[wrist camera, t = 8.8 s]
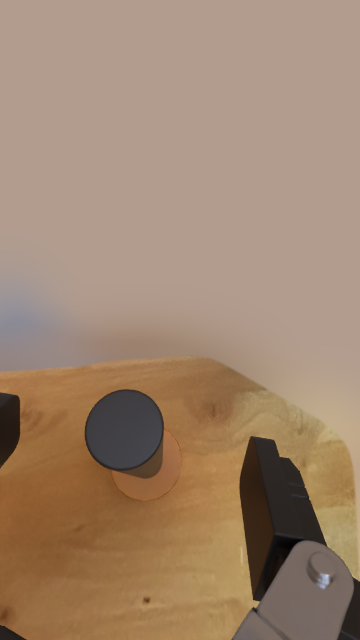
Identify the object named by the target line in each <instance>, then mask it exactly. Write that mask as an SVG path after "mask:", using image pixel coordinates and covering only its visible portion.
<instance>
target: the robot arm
mask: <svg viewBox="0 0 360 640" xmlns="http://www.w3.org/2000/svg"><path fill="white" fill-rule="evenodd" d="M19 438H20V399H19V397H18V396H17V395H11V394H6V393H0V468H1V467H2V465H3V464H4V463H5V462H6V461H7V459H8V458H9V457H10V456H11V454H12V453H13V452H14V450H15V448H16V446H17V444H18V441H19ZM240 499H241V507H242V515H243V523H244V531H245V539H246V547H247V555H248V563H249V571H250V579H251V587H252V595H253V600H255V601H261V602H260V603H259V605H258V606H257V608H256V609H255V608H254V607H253V608H252V609H251V610H250V611H249V613H248V614H247V615H246V617H245V619H244V620H243V622H242V623H241V625H240V627H239V628H238V630H237V631H236V633H235V635H234V636H233V638H232V640H360V582H359V581H358V580H356V579H355V578H353V577H352V575H351V573H350V571H349V569H348V567H347V566H346V564H345V563H344V562H343V560H342V559H341V558H340V557H339V556H338V555H337V554H336V553H335V552H334V551H332V550H331V549H329V548H328V547H327V545H326V542H325V539H324V536H323V534H322V531H321V528H320V526H319V523H318V520H317V517H316V515H315V512H314V509H313V506H312V504H311V501H310V500H309V496H308V493H307V490H306V488H305V485H304V482H303V479H302V477H301V474H300V471H299V470H298V469H297V468H296V466H295V465H294V464H293V463H292V462H291V460H290V459H289V458H283V457H280V456H279V453H278V450H277V446H276V443H275V441H274V440H271V439H266V438H260V437H254V436H251V437H250V440H249V443H248V447H247V451H246V455H245V459H244V462H243V466H242V470H241V475H240ZM0 640H26V639H24V638H23V637H21V636H20V635H18V634H16V633H15V632H13V631H11V630H10V629H8V628H6V627H5V626H1V625H0Z"/></svg>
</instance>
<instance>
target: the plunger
mask: <svg viewBox="0 0 360 640" xmlns="http://www.w3.org/2000/svg"><path fill="white" fill-rule="evenodd" d="M85 441H86V445H87V448H88V450H89V452H90V454H91V455H92V457H93V458H94V459H95V460H96V461H97V462H98V463H99V464H100V465H102V466H103V467H105V468H107V469H110V470H111V474H112V477H113V480H114V482H115V484H116V486H117V487H118V488H119V490H120V491H121V492H122V493H123V494H125V495H126V496H128V497H130V498H132V499H134V500H138V501H151V500H155V499H158V498H160V497H162V496H163V495H165V494H166V493H167V492H168V491H169V490H170V489H171V488H172V487H173V486H174V485H175V483H176V481H177V479H178V477H179V474H180V471H181V466H182V456H181V451H180V448H179V445H178V443H177V441H176V439H175V438H174V437H173V435H172V434H171V433H170V432H169V431H167V430H166V429H164V422H163V417H162V414H161V411H160V409H159V407H158V406H157V404H156V403H155V402H154V401H153V400H152V399H151V398H150V397H149V396H147V395H146V394H144V393H142V392H139V391H136V390H129V389H125V390H118V391H115V392H112V393H110V394H108V395H106V396H104V397H103V398H102V399H100V400H99V401H98V402H97V403H96V404H95V406H94V407H93V408H92V410H91V412H90V413H89V416H88V418H87V421H86V425H85Z"/></svg>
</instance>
